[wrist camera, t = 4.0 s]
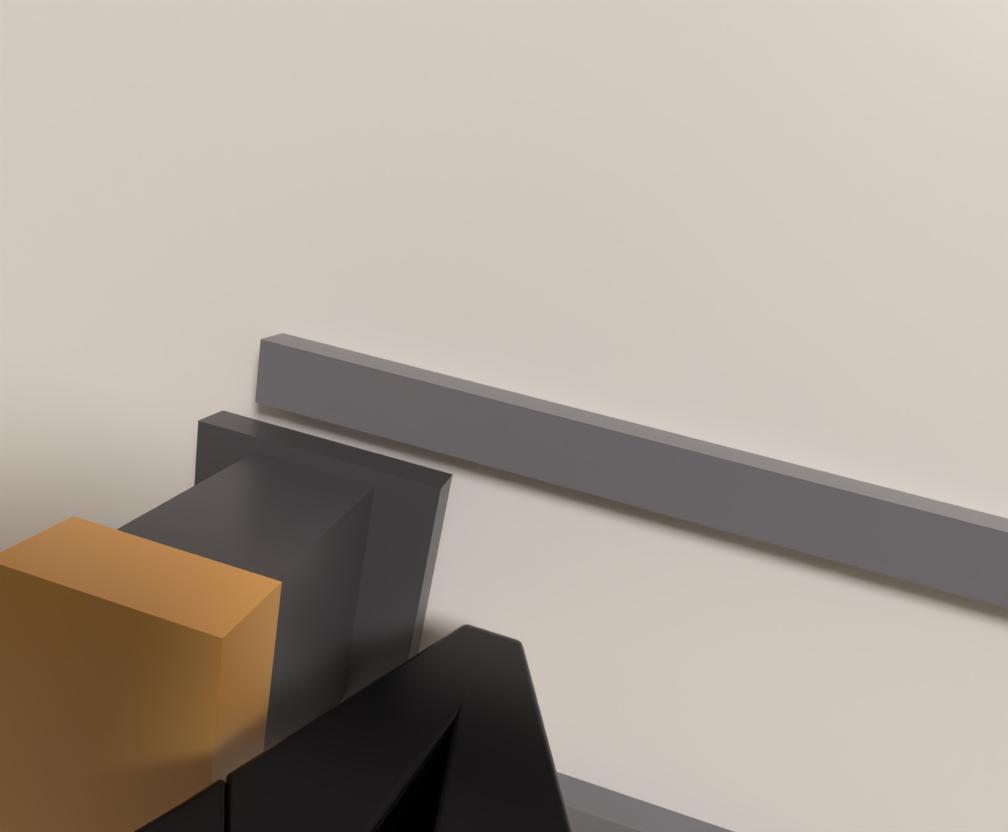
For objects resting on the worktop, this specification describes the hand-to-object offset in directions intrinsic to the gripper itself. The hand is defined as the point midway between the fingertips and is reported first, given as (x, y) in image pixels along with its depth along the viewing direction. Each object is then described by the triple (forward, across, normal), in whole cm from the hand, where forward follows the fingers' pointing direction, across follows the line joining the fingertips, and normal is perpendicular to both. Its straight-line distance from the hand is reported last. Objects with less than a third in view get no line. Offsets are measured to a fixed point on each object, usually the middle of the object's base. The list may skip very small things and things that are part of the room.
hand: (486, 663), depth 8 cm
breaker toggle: (+1, +3, 0) cm, 3 cm away
